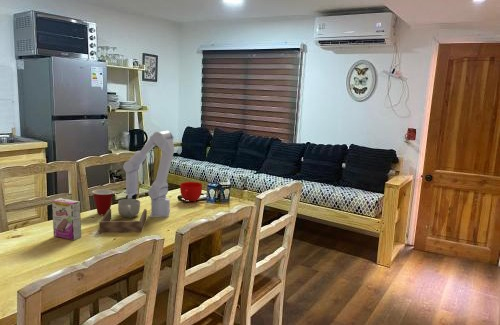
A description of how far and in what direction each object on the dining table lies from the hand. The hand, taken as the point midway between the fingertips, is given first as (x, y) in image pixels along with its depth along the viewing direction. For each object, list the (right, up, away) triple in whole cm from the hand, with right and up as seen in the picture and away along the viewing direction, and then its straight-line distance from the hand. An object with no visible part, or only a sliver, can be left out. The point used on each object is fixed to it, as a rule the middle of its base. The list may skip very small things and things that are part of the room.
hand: (132, 208), depth 209 cm
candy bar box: (-16, -8, -39) cm, 43 cm away
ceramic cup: (+28, +1, +21) cm, 35 cm away
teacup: (+1, -4, -10) cm, 11 cm away
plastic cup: (-13, -2, -6) cm, 14 cm away
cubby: (+3, -6, -22) cm, 23 cm away
